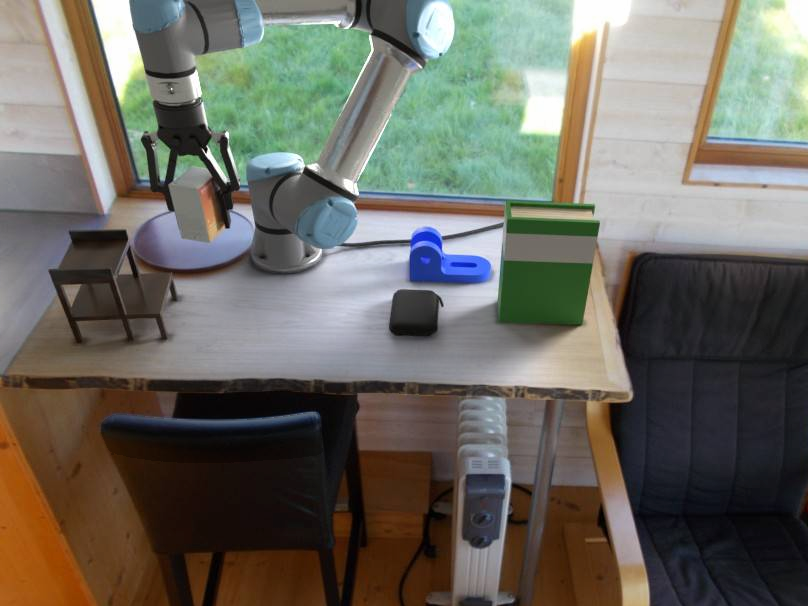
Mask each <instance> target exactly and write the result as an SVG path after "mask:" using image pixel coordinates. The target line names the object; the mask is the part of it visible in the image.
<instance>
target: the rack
mask: <svg viewBox="0 0 808 606" xmlns="http://www.w3.org/2000/svg"><path fill="white" fill-rule="evenodd" d="M68 235H69V238H70V240H71V242H70V244H69V246H68V248H67V249H66V252H65V254H64V256H63V258H62V260H61V262H60V264H59V266H58V268H49V269H48V271H47V272H48V274H49V277H50V279H51V281H52V284H53V287H54V289H55V291H56V294H57V297H58V300H59V302H60V305H61V307H62V309H63V313H64V315H65V317H66V319H67V323H68V324H69V327H70V330H71V332H72V335H73V338H74V340H75V343H76V344H83V343H84V336H83V335H82V333H81V329H80V327H79V324H78V322H94V321H95V322H96V321H97V322H98V321H118V320H119V321H120V320H121V323H122V326H123V329H124V332H125V335H126V338H127V341H129V342H132V341H135V338H136V337H135V334H134V330H133V327H132V325H131V322H130V320H142V319H144V320H145V319H155V320H156V324H157V327H158V330H159V335H160V337H161V340H168V339H169V334H168V329H167V326H166V323H165V319H164V316H163V314H164V310H165V307H166V303H167V299H168V296H169V293H170V295H171V296H170V297H171V300H172V301H178V300H179V294H178V291H177V287H176V283H175V280H174V279H175V278H174V276H173V272H152V273H140V270H139V267H138V263H137V260H136V256H135V254H134V250H133V246H132V244H131V240H130V236H129V233H128V230H127V229H126V228H118V229H117V228H115V229H114V228H113V229H73V230H71V229H69V230H68ZM126 256H127V260H128V264H129V266H130V270H131V273H124V274H123V273H120V271H121V268H122V266H123V264H124V260H125V259H126ZM119 273H120V274H119ZM70 285H73V286H74V285H80V286H79V289H78V291H77V293H76V295H75V298H74V300H73V302H72V304H70V303H71V302H70V301H69V298H68V295H67V293H66V290H65V288H64V286H70Z"/></svg>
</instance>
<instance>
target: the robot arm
mask: <svg viewBox="0 0 808 606" xmlns="http://www.w3.org/2000/svg"><path fill="white" fill-rule="evenodd" d="M128 4H129V12H130V18H131V23H132V24H131V25H132V29H133V31H134V34H135V38H136V41H137V45H138V48H139V53H140V56H141V57H140V58H141V60H142V63H143V68H144V75H145V78H146V82H147V86H148V90H149V95H150V97H151V99H152V100H153V101H152V107H153V110H154V111H153V112H154V116H155V118H156V123H157V130H156V131H152V132H150V131H148V130H145V131H143V132H142V135H141V138H140V143H141V144H142V146H143V148H144V150H145V155H146V162H147V170H148V180H149V189H150V191H151V192H152V193H159V194H162V195H163V196H164V199H165V200H164V201H165V202H166V207H167V210H168V211H169V212H175V210H174V206H173V202H172V198H171V194H170V190H169V186H168V185H169V184H170V183H172V182H173V181H174V180H175V176H176V170H177V166H178V162H179V161H178V160H179V157H185V156H191V157H192V156H193V157H198V158H199V160H200V161H201V162H202V163H203V165H204V166H205V168H207V169H208V171H209V172H210V174H211V175H212V177H213V178H214V180H215V182H216V183H217V185H218V186H219V188H220V192H219V200H220V205H221V210H222V215H223V219H224V224H225V228H224V230H228V229H231V224H232V219H231V214H230V211H233V209H234V204H235V203H234V197H233V192H238V191H240V189H241V183H242V181H241V177H240V174H239V171H238V167H237V166H236V163H235V159H234V156H233V153H232V150H231V147H230V132H229V131H228V130H223V131H222V132H221V131H215V130H213V129H212V128H211V127H210V125H209V123H208V120H207V114H206V111H205V105H204V100H203V98H202V97H201V95H202V90H201V85H200V80H199V75H198V70H197V63H196V59H195V58H196V56H203V55H206V54H213V53H219V52H225V51H230V50H231V51H232V50H236V49H242V50H243V49H245V48H247V47H250V46H253V45H254V46H255V45H257V44H259V43H260V42H262V40H263V37H264V34H265V27H268V26H269V27H271V26H274V27H275V26H299V25H323V24H324V25H327V24H334V25H335V26H336V27H337V28H340V29H342V30H345V29H347V30H348V29H353V30H358V31H359V30H360V31H362V32H366V33H369V34H370V35H369V37H368V38H369V42H370V46H371V52H370V54H369V56H368V57H367V60H366V61H365V64H364V66H363V68H362V70H361V72H360V73H359V75H358V78H357V80H356V82H355V83H354V86H353V88H352V90H351V92H350V93H349V96H348V98H347V100H346V102H345V103H344V106H343V108H342V110H341V112H340V114H339V116H338V118H337V120H336V121H335V124H334V126H333V128H332V130H331V132H330V134H329V136H328V138H327V140H326V142H325V144H324V146H323V148H322V150H321V152H320V154H319V156H318V158H317V160H316V161H314V162H312V163H308V164H305V163H304V160H303V158H302V157H301V156H300V155H299V154H296V153H292V152H283V151H281V152H270V153H264V154H260V155H258V156H255V157H253V158H252V159H251V160H249V161H248V162H247V164H246V166H245V174H246V175H245V177H246V179H245V180H246V183H247V189H248V193H249V198H250V199H249V200H250V205H251V210H252V216H253V220H254V231H253V236H252V241H251V247H250V255H251V260H252V263H253V264H254V265H255V266H256V267H257V268H259V269H260V270H263V271H266V272H269V273H273V274H294V273H299V272H303V271H307V270H308V269H311V268H312V267H314V266H315V265H317V264H318V263H319V262H320V260H321V259H322V256H323V250H330V249H331V250H332V249H334V248H335V247H342V248H358V247H368V246H369V247H371V246H378V245H395V244H396V245H399V244H411V238H410V239H409V238H408V239H407V238H406V239H385V240H384V239H382V240H372V241H363V242H347V241H348V240H349V239H350V238H351V236H353V234H354V232H355V231H356V229H357V226H358V222H359V217H358V210H357V207H356V206H355V204H356V201H358V198H359V196H360V195H359V194H360V193H359V190H358V187H357V183H358V181H359V179H360V178H361V175H362V173H363V171H364V170H365V167H366V165H367V163H368V161H369V159H370V157H371V155H372V153H373V152H374V149H375V148H376V145H377V144H378V142H379V140H380V138H381V136H382V134H383V132H384V130H385V128H386V126H387V124H388V122H389V121H390V118H391V116H392V115H393V112H394V110H395V108H396V107H397V105H398V103H399V101H400V98H401V97H402V95H403V93H404V91H405V89H406V87H407V85H408V83H409V81H410V79H411V77H412V76H413V75H415V74H418V73H422V72H423V71H424V69H425V67H426V66H427V64H428V62H429V60H437V59H439V57H443V56H444V55H445V54H446V53H447V51H448V50H449V49H450V47H451V45H452V42H453V39H454V35H455V28H456V27H455V26H456V25H455V24H456V23H455V22H456V21H455V19H454V11H453V7H452V5H451V2H449V0H128ZM159 140H160V141H161V142H162V144H164V145H165V146H166V147H167V148H169V155H168V161H167V167H166V172H165V178H164V182H162V181H161V175H160V166H159V158H158V157H159V156H158V147H157V146H158V143H159ZM211 140H213V141H214V143H215V145H216V146H217V147H219V152H220V155H221V158H222V161H223V163H224V167H225V170H226V173H227V176H228V177H227V176H226V175H225V173H224V172H223V170H222V169H221V167H220V165H219V163H218V161H216V159H215V157H214V156H213V154H212V152H211V149H210V147H209V145H208V144H209V143H210V141H211ZM228 179H229V180H228ZM174 215H175V216H176V214H175V213H174ZM175 219H176V220H177V218H176V217H175ZM176 223H177V224H178V222H177V221H176ZM503 225H504V221H503V222H499V223H496V224H492V225H487V226H485V227H480V228H477V229H471V230H466V231H463V232H458V233H453V234H448V235H441V237H442V241H444V240H445V241H446V240H450V239H451V240H452V239H455V238H462V237H465V236H471V235H475V234H479V233H482V232H486V231H489V230H490V231H491V230H494V229H498V228H501V227H502V228H503ZM177 227H178V228H179V226H178V225H177Z"/></svg>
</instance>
